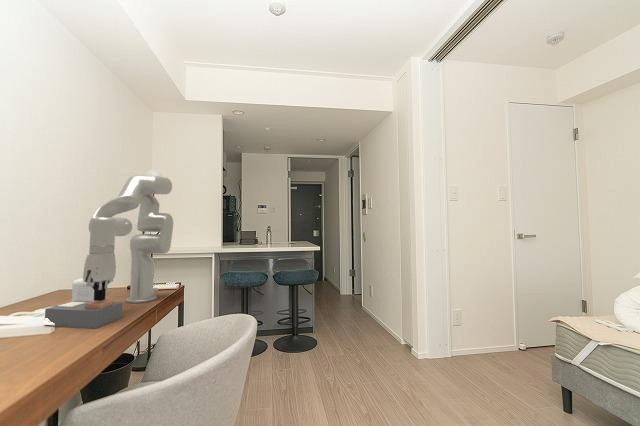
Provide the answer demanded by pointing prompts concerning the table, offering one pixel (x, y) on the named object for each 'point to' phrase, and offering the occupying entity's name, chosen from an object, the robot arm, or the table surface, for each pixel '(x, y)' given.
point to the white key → (72, 304)
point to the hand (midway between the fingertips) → (99, 300)
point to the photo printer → (82, 291)
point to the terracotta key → (99, 304)
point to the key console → (83, 315)
